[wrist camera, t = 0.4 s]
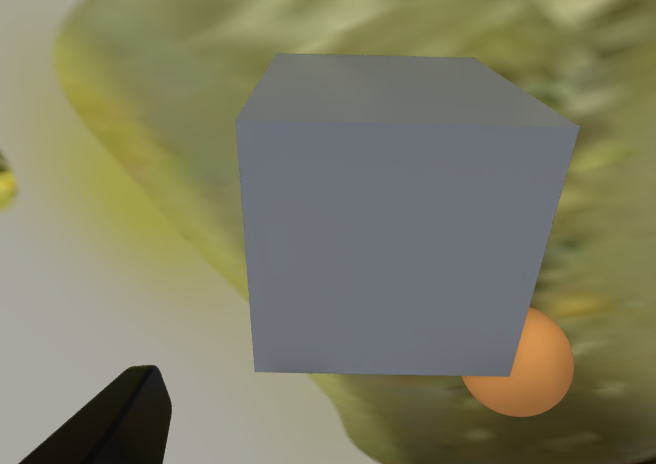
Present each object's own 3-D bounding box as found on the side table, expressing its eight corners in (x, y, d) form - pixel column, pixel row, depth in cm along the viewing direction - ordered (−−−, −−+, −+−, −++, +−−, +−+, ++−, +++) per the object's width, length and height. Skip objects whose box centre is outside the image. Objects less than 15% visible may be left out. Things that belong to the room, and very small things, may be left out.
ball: (558, 283, 23) (612, 358, 19) (534, 360, 25) (576, 442, 21) (454, 281, 23) (483, 355, 19) (440, 358, 25) (463, 440, 21)
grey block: (473, 57, 18) (579, 126, 10) (446, 230, 22) (509, 376, 14) (276, 53, 18) (235, 120, 10) (282, 226, 22) (254, 372, 14)
